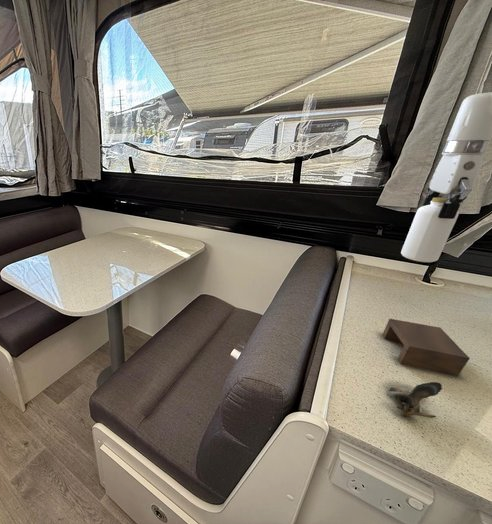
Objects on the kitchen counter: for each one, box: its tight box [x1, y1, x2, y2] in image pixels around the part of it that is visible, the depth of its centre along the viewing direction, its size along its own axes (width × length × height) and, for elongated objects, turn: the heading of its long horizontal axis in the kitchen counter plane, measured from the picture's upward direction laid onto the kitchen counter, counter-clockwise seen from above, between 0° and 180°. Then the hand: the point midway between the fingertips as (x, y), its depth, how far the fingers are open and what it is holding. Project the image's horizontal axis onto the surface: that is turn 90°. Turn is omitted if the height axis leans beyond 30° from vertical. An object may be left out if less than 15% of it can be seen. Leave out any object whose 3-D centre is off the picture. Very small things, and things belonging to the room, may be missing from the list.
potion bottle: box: [400, 197, 460, 263], centre depth 78 cm, size 8×8×18 cm
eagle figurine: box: [385, 381, 443, 419], centre depth 51 cm, size 8×7×9 cm
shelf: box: [381, 318, 471, 378], centre depth 64 cm, size 10×11×6 cm
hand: (436, 214), depth 77 cm, fingers closed on potion bottle, 8 cm apart
